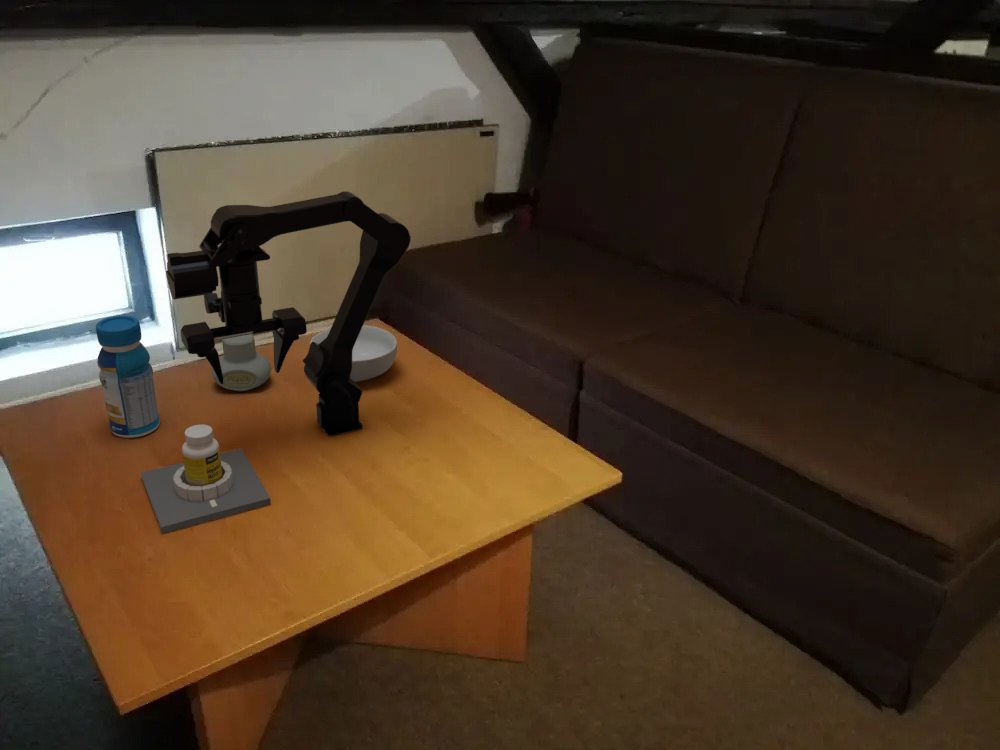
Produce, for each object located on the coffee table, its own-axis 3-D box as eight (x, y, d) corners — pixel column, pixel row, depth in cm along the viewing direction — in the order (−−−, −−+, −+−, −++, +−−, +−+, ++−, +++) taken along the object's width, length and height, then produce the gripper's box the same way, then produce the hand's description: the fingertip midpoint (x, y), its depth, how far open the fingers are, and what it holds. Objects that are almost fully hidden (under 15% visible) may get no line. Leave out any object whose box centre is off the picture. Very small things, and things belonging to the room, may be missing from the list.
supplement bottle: (213, 497, 133) (205, 442, 128) (180, 491, 134) (171, 437, 129) (229, 477, 137) (223, 424, 133) (198, 473, 138) (190, 419, 134)
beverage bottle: (153, 439, 149) (135, 333, 140) (102, 439, 148) (81, 332, 139) (167, 415, 156) (151, 312, 147) (118, 415, 156) (99, 312, 147)
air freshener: (274, 373, 173) (269, 327, 168) (270, 393, 165) (265, 345, 161) (217, 375, 171) (211, 328, 166) (210, 395, 164) (204, 347, 159)
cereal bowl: (314, 396, 165) (312, 363, 162) (309, 358, 179) (307, 327, 176) (403, 389, 169) (402, 356, 166) (391, 352, 183) (390, 321, 180)
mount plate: (242, 454, 146) (240, 438, 144) (270, 504, 134) (269, 487, 132) (141, 478, 138) (138, 461, 137) (162, 533, 126) (159, 515, 125)
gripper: (282, 264, 146) (289, 347, 153) (167, 280, 138) (180, 368, 145) (304, 286, 138) (310, 373, 145) (182, 304, 129) (195, 397, 136)
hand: (249, 377), depth 143 cm, fingers open, 9 cm apart
